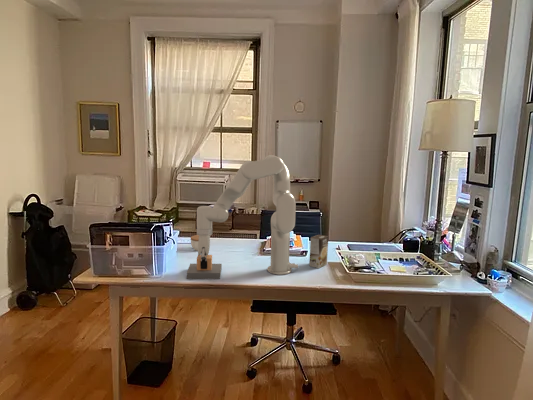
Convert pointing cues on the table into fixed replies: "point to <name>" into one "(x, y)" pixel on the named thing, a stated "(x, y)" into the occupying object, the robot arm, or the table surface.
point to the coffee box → (318, 251)
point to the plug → (209, 262)
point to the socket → (204, 272)
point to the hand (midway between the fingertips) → (204, 266)
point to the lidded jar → (195, 242)
